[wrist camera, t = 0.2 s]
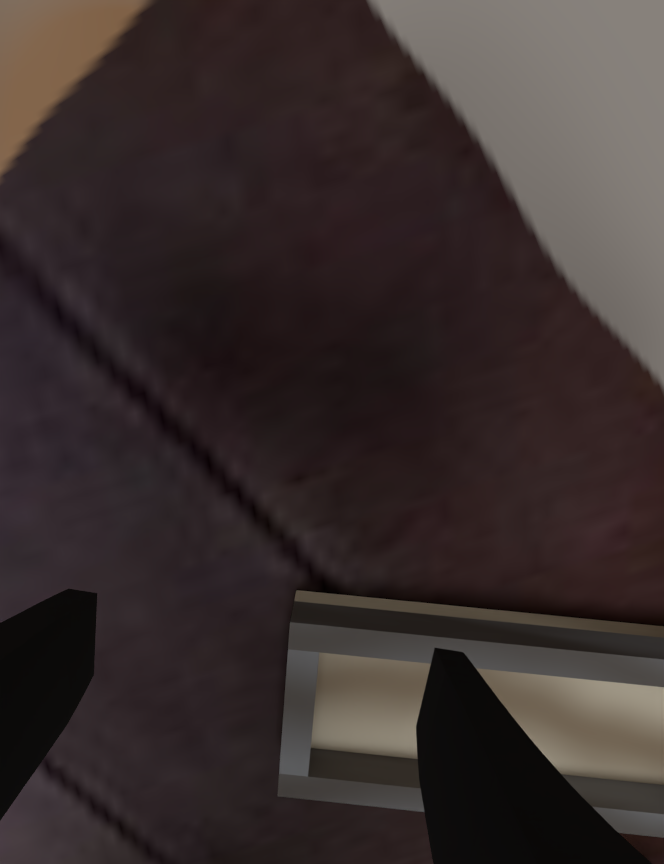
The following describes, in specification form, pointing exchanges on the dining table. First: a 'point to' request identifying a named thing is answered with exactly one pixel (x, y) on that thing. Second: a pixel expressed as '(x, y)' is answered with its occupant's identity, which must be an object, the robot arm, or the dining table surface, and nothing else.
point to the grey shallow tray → (504, 673)
